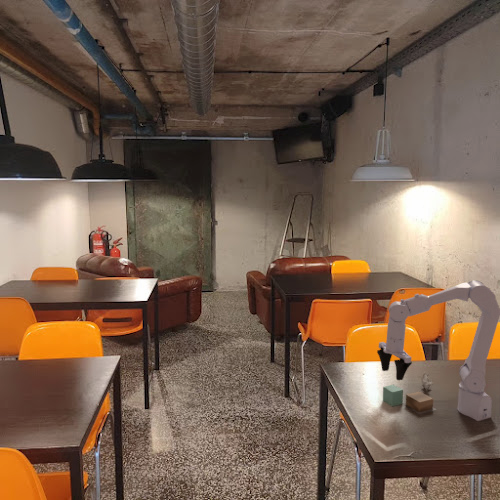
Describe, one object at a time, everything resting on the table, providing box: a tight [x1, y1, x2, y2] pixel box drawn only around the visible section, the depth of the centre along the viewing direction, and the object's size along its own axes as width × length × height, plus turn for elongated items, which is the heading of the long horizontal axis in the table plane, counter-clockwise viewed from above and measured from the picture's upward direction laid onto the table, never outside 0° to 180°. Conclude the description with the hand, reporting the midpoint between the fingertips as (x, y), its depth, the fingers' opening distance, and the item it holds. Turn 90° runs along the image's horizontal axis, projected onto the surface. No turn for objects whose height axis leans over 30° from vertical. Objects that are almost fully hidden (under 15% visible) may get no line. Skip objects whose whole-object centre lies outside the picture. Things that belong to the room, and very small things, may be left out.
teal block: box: [382, 384, 404, 407], centre depth 146 cm, size 5×5×5 cm
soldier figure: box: [421, 371, 434, 392], centre depth 159 cm, size 8×5×12 cm
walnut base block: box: [405, 391, 434, 412], centre depth 143 cm, size 6×6×4 cm
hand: (392, 375), depth 147 cm, fingers open, 7 cm apart
